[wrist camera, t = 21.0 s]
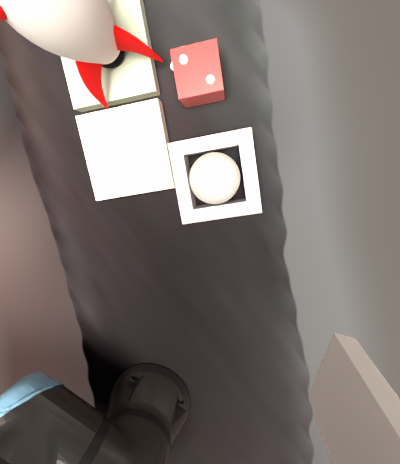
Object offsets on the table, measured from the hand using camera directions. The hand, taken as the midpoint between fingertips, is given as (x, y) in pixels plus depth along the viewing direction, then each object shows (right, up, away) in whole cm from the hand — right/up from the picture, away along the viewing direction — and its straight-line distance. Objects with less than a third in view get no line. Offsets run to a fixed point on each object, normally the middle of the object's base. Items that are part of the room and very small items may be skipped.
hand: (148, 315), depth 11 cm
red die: (+2, +25, +32) cm, 41 cm away
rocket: (-11, +29, +30) cm, 43 cm away
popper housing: (+5, +12, +35) cm, 37 cm away
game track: (-10, +23, +34) cm, 42 cm away
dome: (+4, +11, +34) cm, 36 cm away
